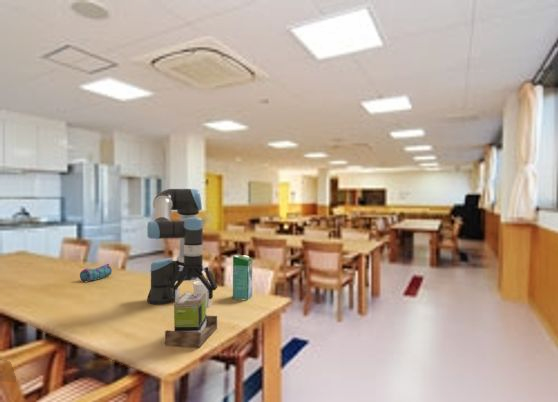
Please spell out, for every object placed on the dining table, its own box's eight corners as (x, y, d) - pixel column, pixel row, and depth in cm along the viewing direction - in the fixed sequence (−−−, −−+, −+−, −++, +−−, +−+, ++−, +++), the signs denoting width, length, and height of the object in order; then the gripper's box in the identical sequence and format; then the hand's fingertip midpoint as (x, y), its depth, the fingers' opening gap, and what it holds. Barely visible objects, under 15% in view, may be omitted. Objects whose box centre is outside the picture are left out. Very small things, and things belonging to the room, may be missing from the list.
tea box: (183, 326, 145) (184, 292, 145) (206, 326, 145) (207, 292, 145) (173, 340, 130) (173, 302, 130) (199, 340, 130) (199, 302, 130)
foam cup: (214, 305, 180) (214, 281, 180) (205, 310, 171) (205, 285, 171) (199, 303, 183) (199, 279, 183) (189, 308, 174) (189, 283, 175)
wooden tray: (165, 345, 129) (165, 331, 129) (187, 326, 149) (187, 314, 149) (199, 348, 126) (199, 333, 127) (217, 328, 147) (217, 315, 147)
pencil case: (89, 283, 229) (89, 269, 229) (79, 282, 232) (79, 268, 232) (112, 276, 249) (112, 264, 249) (102, 276, 252) (103, 263, 252)
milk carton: (247, 300, 189) (248, 256, 189) (232, 299, 191) (233, 256, 191) (252, 296, 198) (252, 254, 198) (237, 295, 200) (238, 253, 200)
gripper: (160, 255, 136) (160, 306, 136) (219, 257, 132) (218, 310, 133) (169, 252, 143) (169, 301, 144) (224, 254, 140) (224, 304, 140)
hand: (192, 305), depth 138 cm, fingers open, 13 cm apart
